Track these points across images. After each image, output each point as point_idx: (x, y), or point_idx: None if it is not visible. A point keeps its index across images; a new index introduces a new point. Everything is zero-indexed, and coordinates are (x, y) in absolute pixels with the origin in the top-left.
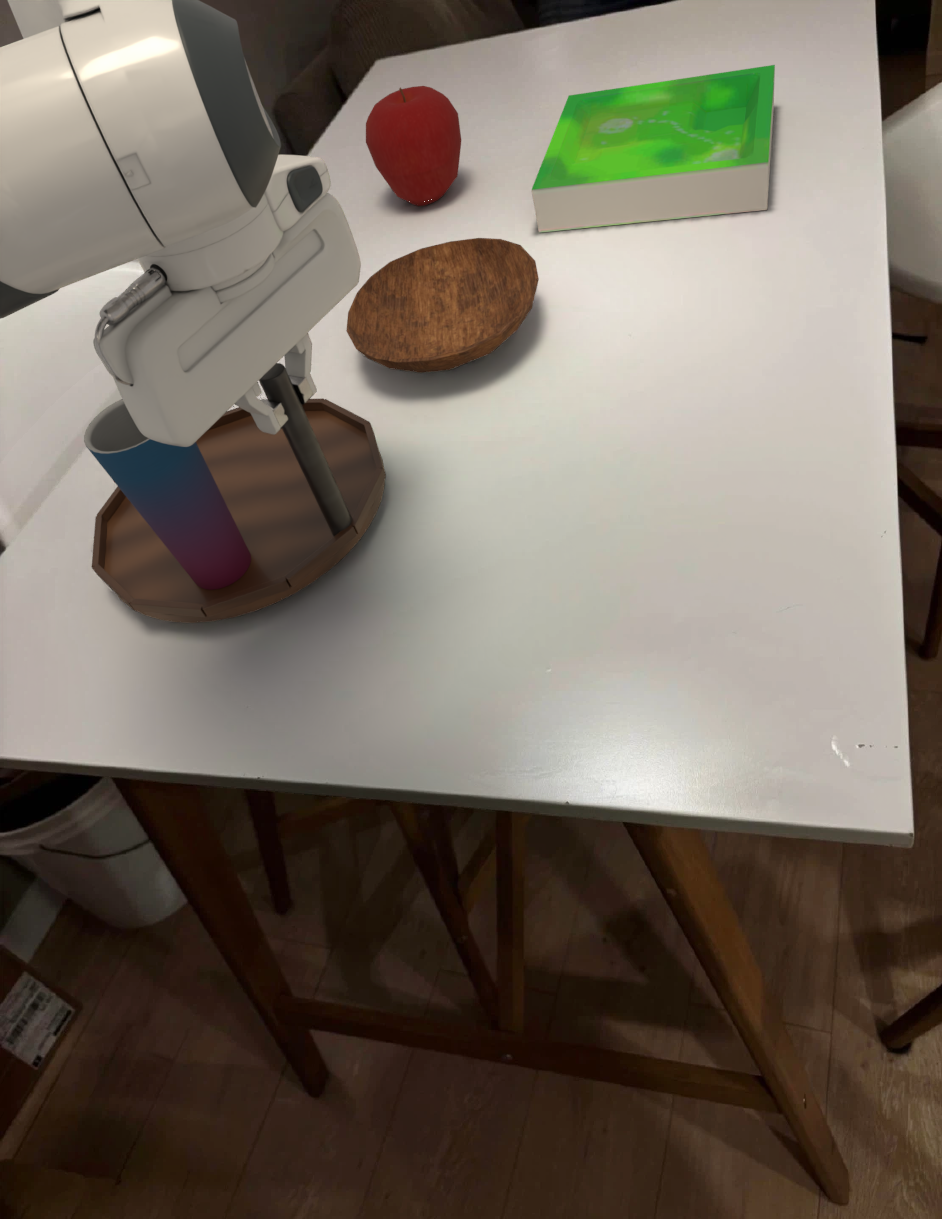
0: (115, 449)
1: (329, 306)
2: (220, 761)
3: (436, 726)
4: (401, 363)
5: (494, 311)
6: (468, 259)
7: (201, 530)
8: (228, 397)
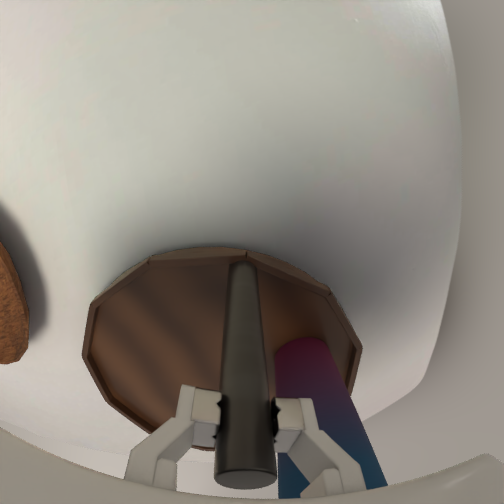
0: None
1: (41, 460)
2: (448, 264)
3: (422, 104)
4: (21, 299)
5: None
6: None
7: (342, 390)
8: (431, 492)
